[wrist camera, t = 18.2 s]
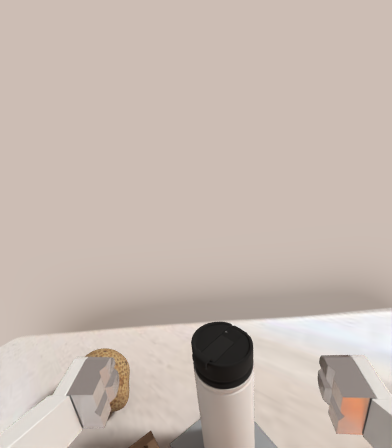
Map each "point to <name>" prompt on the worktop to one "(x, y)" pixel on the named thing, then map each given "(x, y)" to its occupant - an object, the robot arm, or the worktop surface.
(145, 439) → the wooden box
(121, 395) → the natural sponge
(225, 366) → the travel mug
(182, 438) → the mat
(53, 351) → the worktop surface
